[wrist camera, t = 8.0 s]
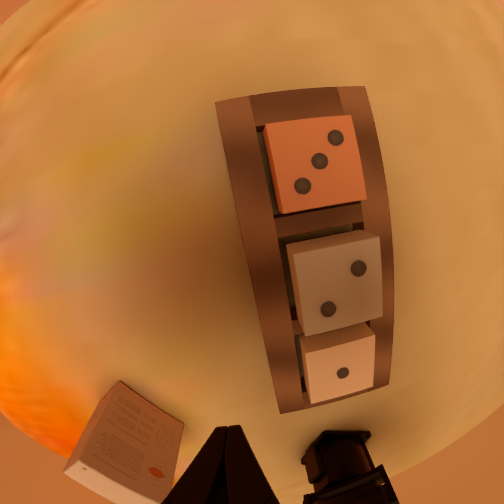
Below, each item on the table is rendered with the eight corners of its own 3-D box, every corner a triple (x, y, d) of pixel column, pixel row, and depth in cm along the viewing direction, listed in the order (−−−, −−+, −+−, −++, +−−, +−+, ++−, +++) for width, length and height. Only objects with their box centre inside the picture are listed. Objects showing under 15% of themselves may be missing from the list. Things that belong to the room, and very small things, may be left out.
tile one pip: (361, 368, 20) (373, 388, 18) (304, 383, 21) (311, 405, 18) (361, 318, 19) (376, 336, 17) (298, 334, 19) (305, 355, 17)
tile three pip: (350, 197, 17) (368, 199, 14) (277, 210, 17) (283, 214, 15) (336, 123, 16) (352, 114, 13) (262, 133, 16) (265, 123, 13)
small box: (98, 401, 23) (59, 471, 12) (119, 378, 22) (75, 459, 11) (158, 441, 24) (138, 515, 14) (186, 423, 23) (169, 509, 13)
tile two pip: (366, 300, 18) (384, 317, 15) (297, 317, 18) (305, 338, 15) (361, 229, 17) (380, 237, 14) (285, 244, 17) (293, 255, 14)
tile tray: (380, 372, 22) (388, 384, 20) (277, 399, 22) (280, 414, 20) (354, 94, 17) (364, 86, 15) (217, 110, 17) (214, 102, 15)
